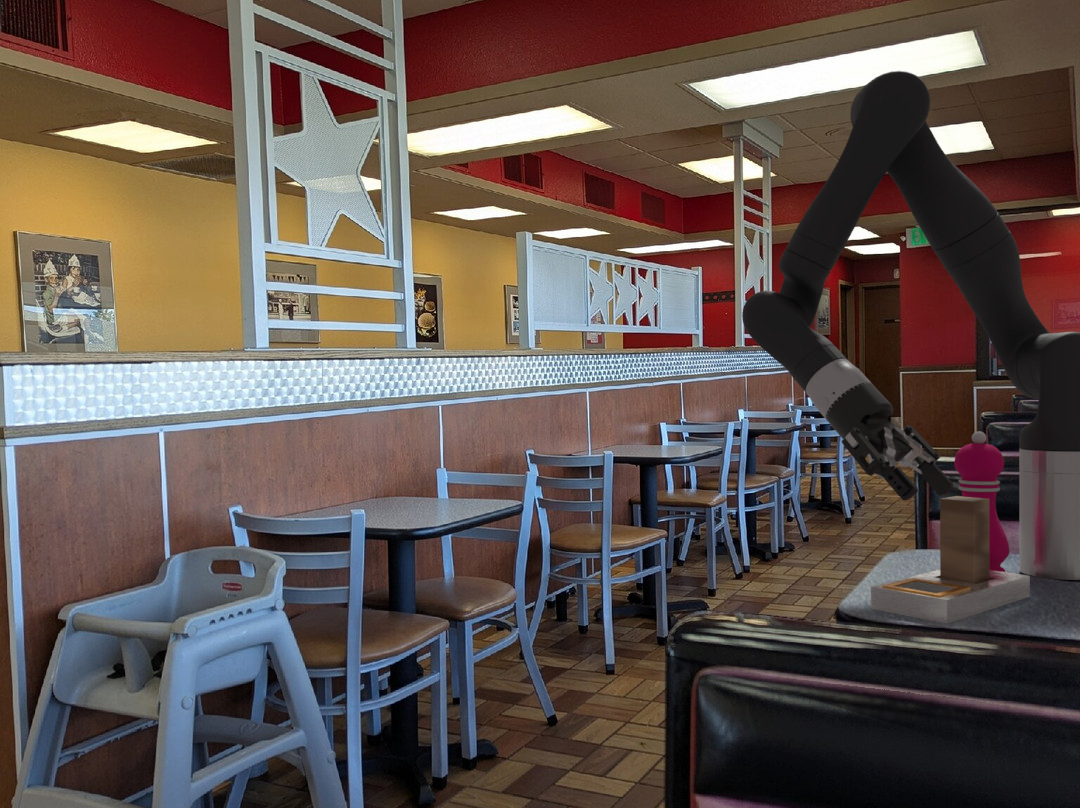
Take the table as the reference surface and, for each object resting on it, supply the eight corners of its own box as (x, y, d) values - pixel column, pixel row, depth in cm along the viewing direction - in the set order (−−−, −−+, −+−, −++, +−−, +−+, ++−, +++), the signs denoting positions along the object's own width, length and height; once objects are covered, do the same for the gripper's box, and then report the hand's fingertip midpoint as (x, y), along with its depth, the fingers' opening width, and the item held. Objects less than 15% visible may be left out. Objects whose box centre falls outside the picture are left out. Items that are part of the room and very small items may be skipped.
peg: (956, 593, 113) (956, 496, 113) (989, 598, 110) (989, 498, 110) (940, 598, 111) (940, 498, 111) (973, 603, 108) (973, 501, 108)
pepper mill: (958, 573, 128) (958, 429, 128) (1015, 579, 124) (1015, 430, 124) (942, 581, 123) (942, 431, 123) (1001, 588, 118) (1001, 433, 118)
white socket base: (956, 588, 119) (956, 563, 118) (1029, 600, 112) (1029, 574, 112) (871, 612, 106) (870, 584, 106) (946, 627, 99) (947, 598, 99)
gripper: (834, 380, 116) (920, 477, 107) (895, 380, 125) (979, 470, 116) (798, 421, 120) (879, 518, 111) (860, 419, 129) (939, 508, 120)
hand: (930, 493), depth 114 cm, fingers open, 8 cm apart
